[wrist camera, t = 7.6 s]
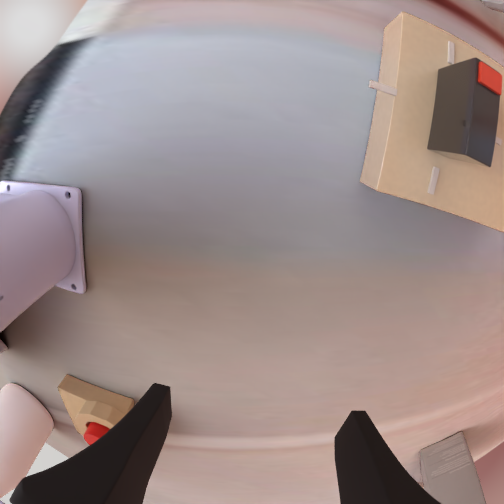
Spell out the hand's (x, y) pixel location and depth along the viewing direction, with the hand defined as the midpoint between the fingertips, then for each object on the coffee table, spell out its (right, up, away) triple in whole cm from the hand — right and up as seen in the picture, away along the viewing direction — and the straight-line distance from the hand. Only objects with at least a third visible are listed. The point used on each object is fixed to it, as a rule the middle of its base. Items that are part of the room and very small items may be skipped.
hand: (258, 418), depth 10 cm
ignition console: (-16, -11, +16) cm, 25 cm away
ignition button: (-14, -11, +12) cm, 21 cm away
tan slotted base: (+12, +14, +4) cm, 19 cm away
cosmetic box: (+25, -20, +16) cm, 36 cm away
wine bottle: (-32, -16, +19) cm, 41 cm away
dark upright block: (+9, +13, +1) cm, 16 cm away
